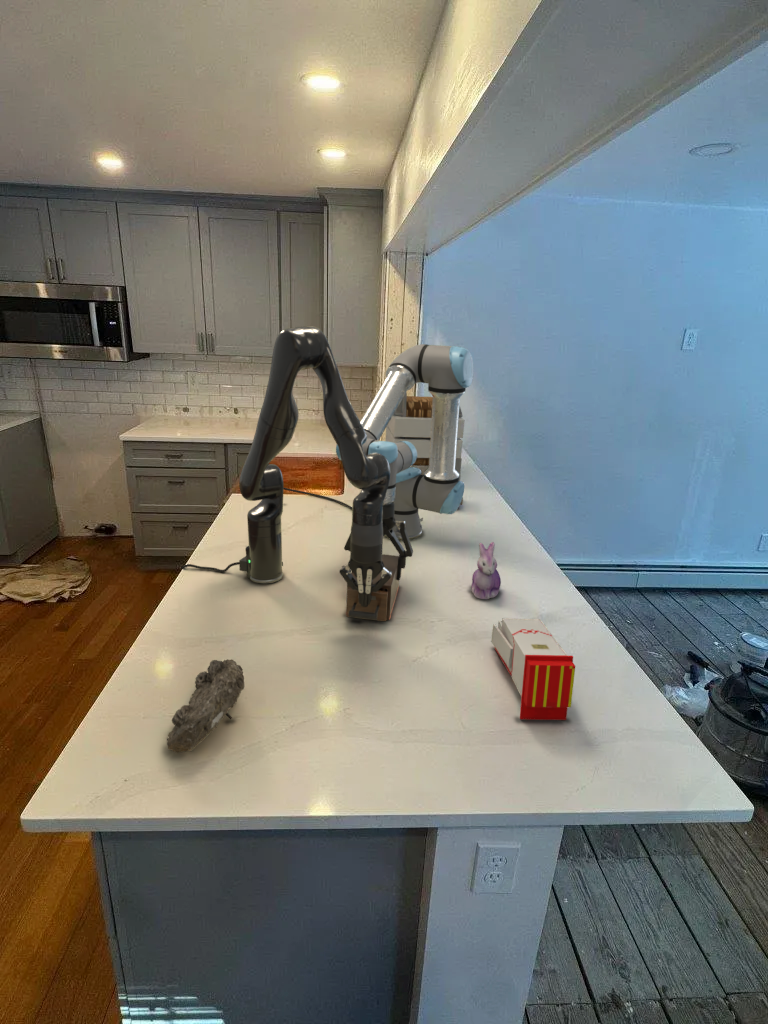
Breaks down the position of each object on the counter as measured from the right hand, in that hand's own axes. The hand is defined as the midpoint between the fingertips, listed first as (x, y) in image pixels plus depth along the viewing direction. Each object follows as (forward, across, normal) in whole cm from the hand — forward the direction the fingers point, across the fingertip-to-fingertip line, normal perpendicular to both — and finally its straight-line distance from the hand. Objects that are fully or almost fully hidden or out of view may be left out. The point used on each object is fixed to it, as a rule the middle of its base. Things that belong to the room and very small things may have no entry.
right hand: (377, 575), depth 156 cm
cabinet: (+5, 0, -5) cm, 7 cm away
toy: (+5, +38, -32) cm, 50 cm away
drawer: (+4, 0, -11) cm, 11 cm away
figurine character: (+5, +18, +82) cm, 84 cm away
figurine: (+5, +30, +7) cm, 31 cm away
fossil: (+5, -22, -57) cm, 61 cm away
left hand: (-2, 0, -20) cm, 20 cm away
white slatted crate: (+5, 0, +125) cm, 126 cm away
